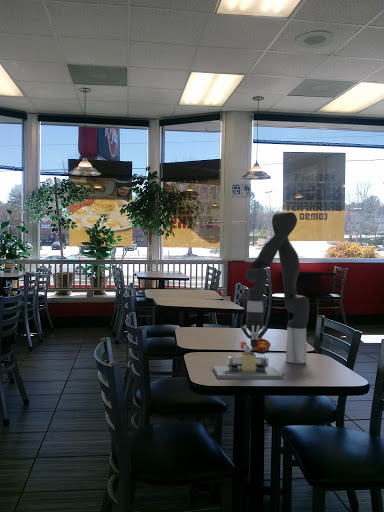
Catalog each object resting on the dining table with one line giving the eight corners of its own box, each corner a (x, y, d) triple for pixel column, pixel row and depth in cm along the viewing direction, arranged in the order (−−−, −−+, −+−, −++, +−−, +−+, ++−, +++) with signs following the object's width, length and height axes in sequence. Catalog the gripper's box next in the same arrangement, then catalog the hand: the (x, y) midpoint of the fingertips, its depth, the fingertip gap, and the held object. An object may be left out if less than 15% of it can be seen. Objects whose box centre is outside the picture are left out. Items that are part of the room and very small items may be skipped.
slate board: (273, 369, 211) (273, 366, 211) (282, 379, 196) (282, 375, 196) (213, 369, 208) (213, 366, 208) (218, 378, 193) (218, 375, 193)
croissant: (254, 351, 266) (248, 338, 266) (270, 343, 265) (264, 331, 266) (257, 358, 245) (250, 345, 245) (274, 351, 244) (267, 337, 245)
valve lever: (251, 353, 201) (251, 347, 201) (245, 353, 201) (245, 347, 201) (244, 346, 214) (244, 341, 214) (239, 346, 214) (239, 340, 214)
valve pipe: (264, 369, 206) (265, 352, 206) (268, 372, 200) (269, 355, 200) (226, 368, 204) (226, 352, 204) (228, 372, 198) (229, 355, 198)
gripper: (266, 309, 218) (264, 345, 218) (239, 309, 216) (237, 345, 216) (271, 311, 211) (269, 349, 211) (243, 311, 209) (241, 349, 209)
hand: (253, 347), depth 214 cm, fingers closed
